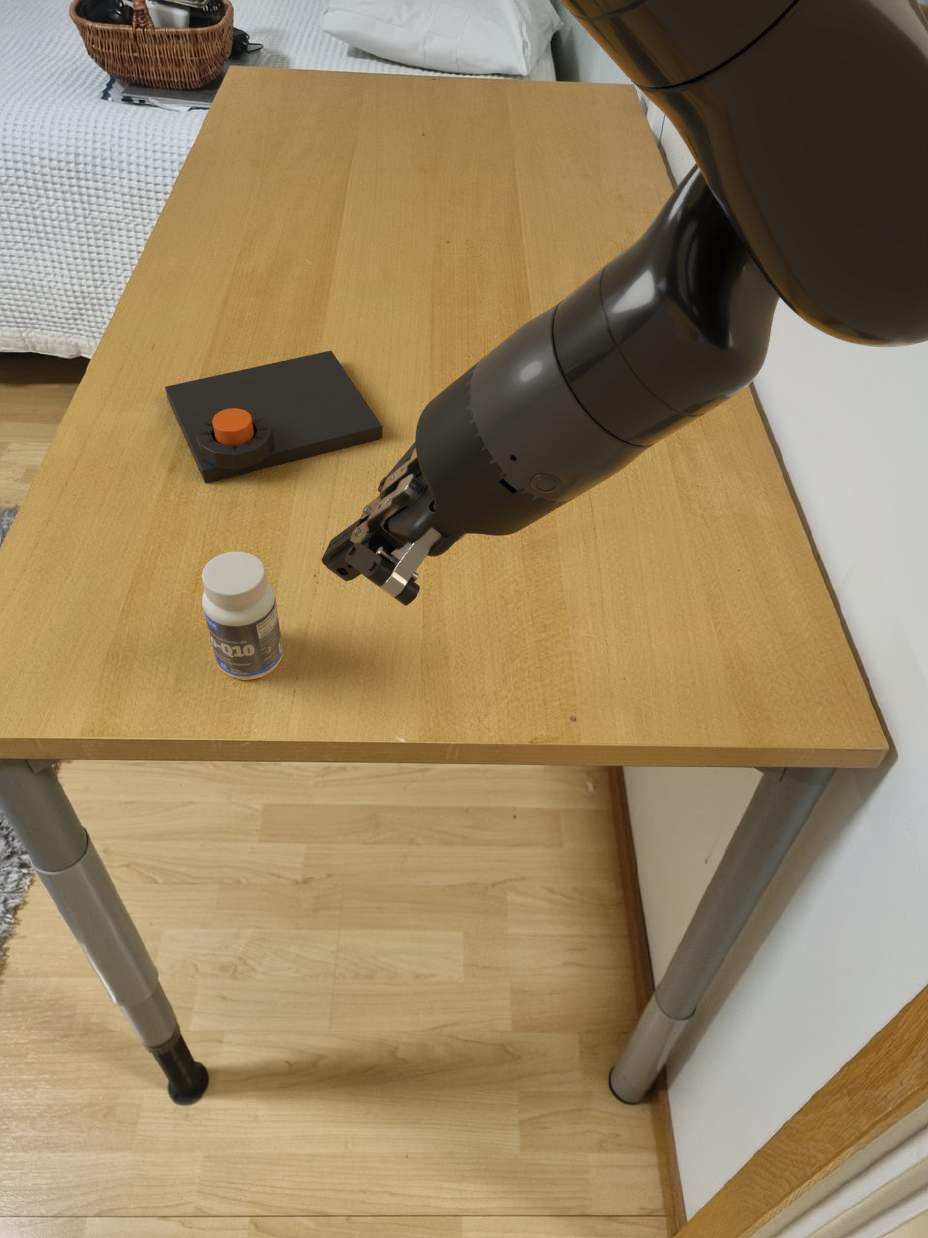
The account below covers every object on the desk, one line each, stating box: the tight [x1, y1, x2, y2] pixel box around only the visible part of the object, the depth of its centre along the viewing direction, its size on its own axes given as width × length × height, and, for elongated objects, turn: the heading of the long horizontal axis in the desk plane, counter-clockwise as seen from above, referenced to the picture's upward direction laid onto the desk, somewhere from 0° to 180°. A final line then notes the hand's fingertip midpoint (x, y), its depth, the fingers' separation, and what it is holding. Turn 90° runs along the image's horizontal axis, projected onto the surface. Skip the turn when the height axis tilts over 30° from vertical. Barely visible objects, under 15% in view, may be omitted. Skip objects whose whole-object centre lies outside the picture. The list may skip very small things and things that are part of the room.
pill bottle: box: [201, 551, 284, 681], centre depth 63 cm, size 5×5×8 cm
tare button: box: [212, 408, 254, 446], centre depth 78 cm, size 3×3×2 cm
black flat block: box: [164, 350, 383, 484], centre depth 83 cm, size 16×14×3 cm
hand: (337, 562), depth 54 cm, fingers closed
